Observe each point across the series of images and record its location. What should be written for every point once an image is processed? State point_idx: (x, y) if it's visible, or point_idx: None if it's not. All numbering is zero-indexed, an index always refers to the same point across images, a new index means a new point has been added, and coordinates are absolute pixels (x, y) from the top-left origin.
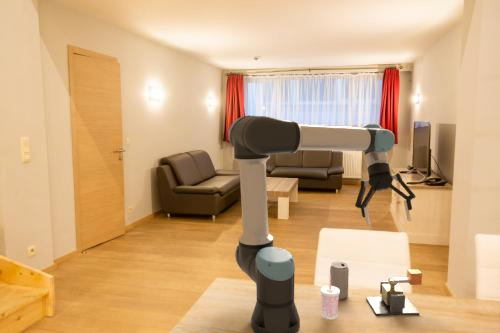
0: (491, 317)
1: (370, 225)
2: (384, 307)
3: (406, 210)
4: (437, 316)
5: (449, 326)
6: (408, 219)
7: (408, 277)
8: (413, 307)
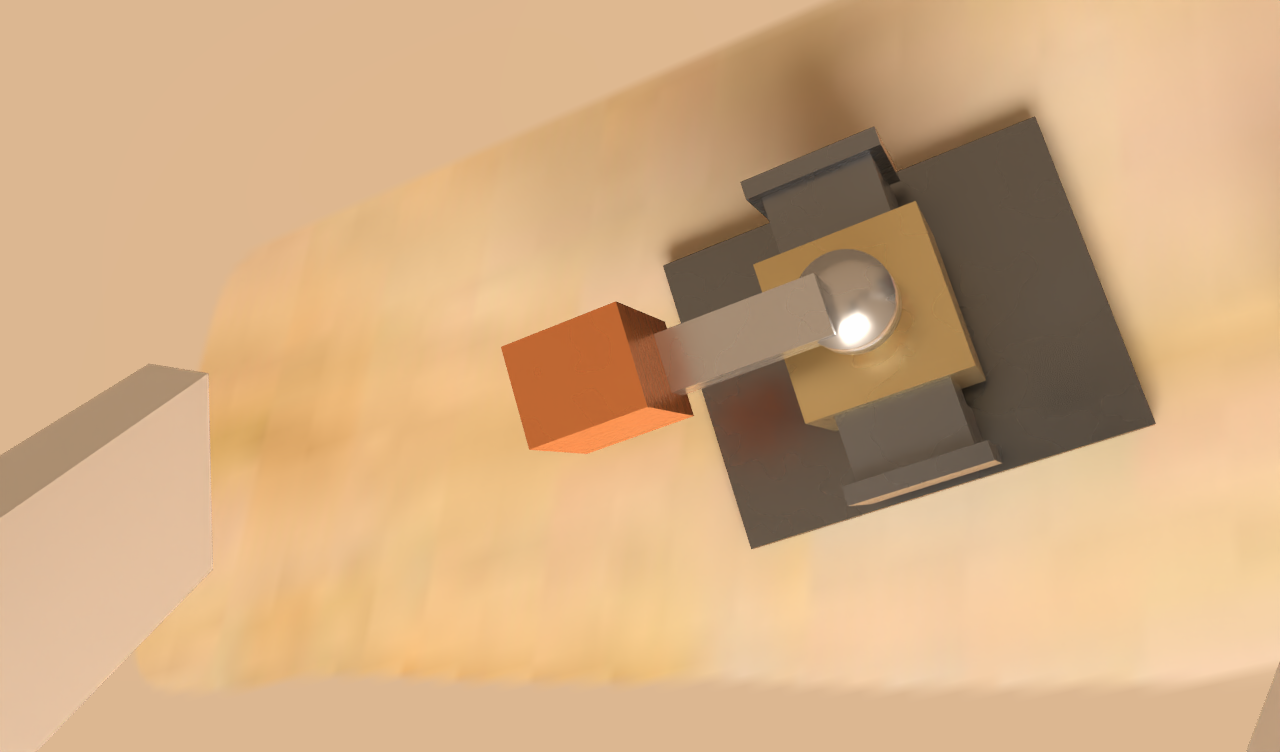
0: (209, 407)
1: (1267, 741)
2: (958, 259)
3: (20, 477)
4: (541, 297)
5: (486, 175)
6: (181, 372)
7: (663, 376)
8: None
